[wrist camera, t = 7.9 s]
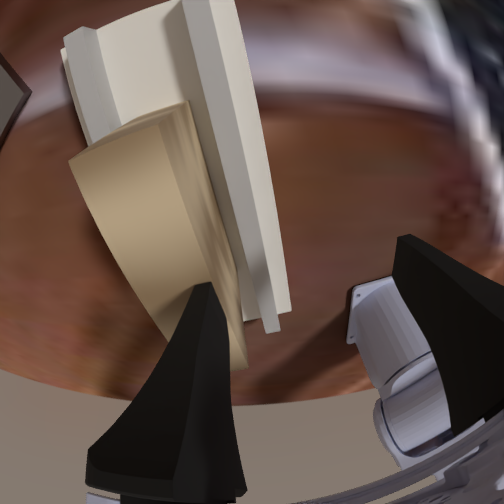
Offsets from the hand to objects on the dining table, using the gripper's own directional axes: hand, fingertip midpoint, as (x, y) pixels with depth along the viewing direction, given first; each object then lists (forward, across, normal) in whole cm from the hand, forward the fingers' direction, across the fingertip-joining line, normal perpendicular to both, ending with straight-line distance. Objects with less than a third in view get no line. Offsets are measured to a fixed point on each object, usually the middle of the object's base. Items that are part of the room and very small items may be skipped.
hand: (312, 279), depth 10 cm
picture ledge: (+9, +5, -1) cm, 11 cm away
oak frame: (+8, +5, 0) cm, 10 cm away
